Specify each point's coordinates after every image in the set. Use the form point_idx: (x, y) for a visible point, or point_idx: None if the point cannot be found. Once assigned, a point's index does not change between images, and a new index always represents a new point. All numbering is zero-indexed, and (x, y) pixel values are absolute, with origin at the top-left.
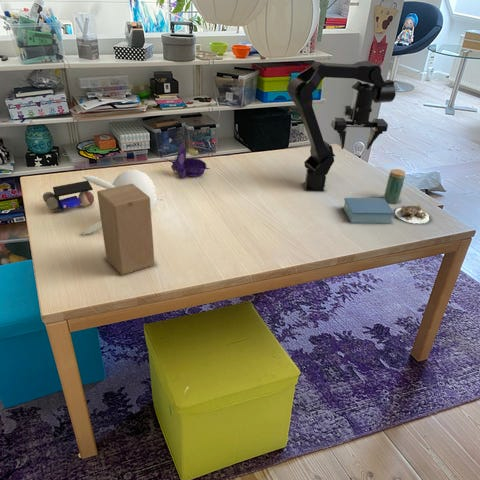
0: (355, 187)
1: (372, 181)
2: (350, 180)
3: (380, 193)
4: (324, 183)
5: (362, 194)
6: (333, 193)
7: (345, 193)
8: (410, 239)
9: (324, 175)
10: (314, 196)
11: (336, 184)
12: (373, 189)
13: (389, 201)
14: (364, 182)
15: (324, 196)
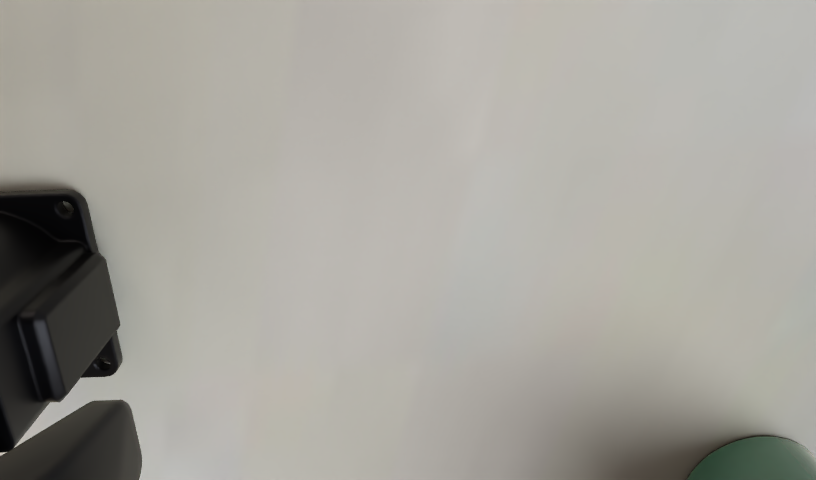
0: (495, 246)
1: (776, 52)
2: (490, 40)
3: (717, 368)
4: (96, 354)
5: (519, 401)
6: (224, 400)
7: (349, 392)
8: None
9: (28, 428)
10: None
11: (284, 180)
12: (684, 282)
13: None
14: (656, 93)
15: None
